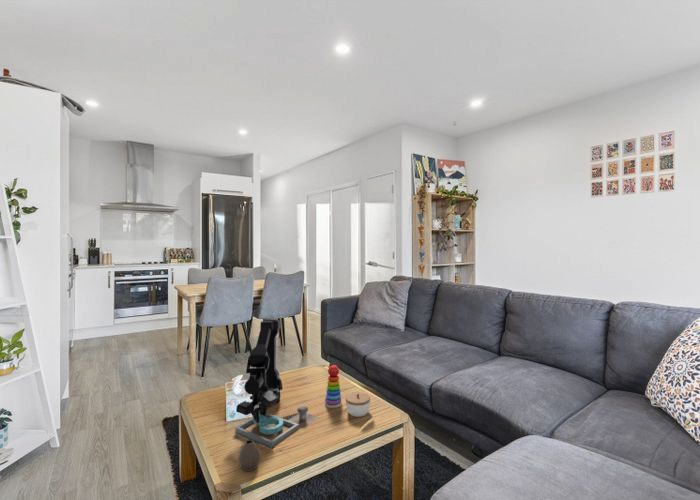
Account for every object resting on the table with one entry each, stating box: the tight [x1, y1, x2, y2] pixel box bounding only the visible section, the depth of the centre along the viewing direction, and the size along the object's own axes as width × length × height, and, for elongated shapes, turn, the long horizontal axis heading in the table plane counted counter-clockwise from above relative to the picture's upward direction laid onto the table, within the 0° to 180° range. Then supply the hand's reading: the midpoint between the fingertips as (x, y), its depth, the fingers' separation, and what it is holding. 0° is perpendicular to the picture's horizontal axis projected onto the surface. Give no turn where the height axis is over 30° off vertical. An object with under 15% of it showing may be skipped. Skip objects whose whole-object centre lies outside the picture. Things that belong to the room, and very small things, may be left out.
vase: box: [238, 439, 261, 472], centre depth 116 cm, size 7×7×9 cm
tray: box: [234, 412, 300, 450], centre depth 137 cm, size 20×15×2 cm
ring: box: [252, 413, 284, 435], centre depth 137 cm, size 14×9×3 cm, turn 57°
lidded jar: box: [345, 391, 371, 418], centre depth 150 cm, size 11×11×9 cm
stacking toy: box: [324, 364, 343, 409], centre depth 158 cm, size 8×8×19 cm
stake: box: [288, 405, 320, 429], centre depth 145 cm, size 10×10×6 cm
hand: (259, 421), depth 140 cm, fingers closed on ring, 2 cm apart
